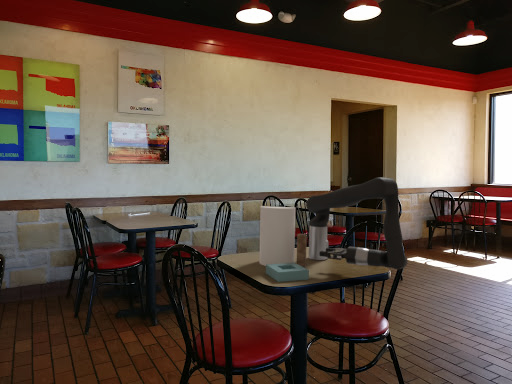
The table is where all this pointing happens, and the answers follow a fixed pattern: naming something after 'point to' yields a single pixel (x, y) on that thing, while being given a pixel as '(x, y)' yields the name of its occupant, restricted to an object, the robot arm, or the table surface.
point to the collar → (287, 272)
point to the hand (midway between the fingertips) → (322, 251)
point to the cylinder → (277, 235)
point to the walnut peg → (301, 249)
